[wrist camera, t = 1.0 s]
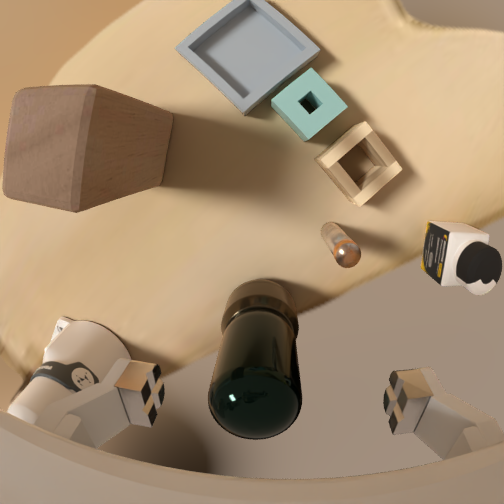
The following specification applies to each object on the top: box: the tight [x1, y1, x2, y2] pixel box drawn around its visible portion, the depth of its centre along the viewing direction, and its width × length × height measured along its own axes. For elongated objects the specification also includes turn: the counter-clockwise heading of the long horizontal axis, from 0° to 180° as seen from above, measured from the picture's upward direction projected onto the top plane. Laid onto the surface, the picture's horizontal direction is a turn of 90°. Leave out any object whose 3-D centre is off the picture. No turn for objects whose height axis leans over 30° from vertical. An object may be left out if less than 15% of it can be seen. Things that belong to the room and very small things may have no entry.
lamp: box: [208, 279, 302, 440], centre depth 33 cm, size 10×10×22 cm
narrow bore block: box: [271, 68, 348, 141], centre depth 33 cm, size 6×6×5 cm
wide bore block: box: [315, 121, 402, 207], centre depth 35 cm, size 7×7×5 cm
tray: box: [175, 0, 321, 116], centre depth 32 cm, size 12×12×3 cm
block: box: [3, 85, 173, 213], centre depth 29 cm, size 10×10×20 cm
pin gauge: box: [321, 222, 361, 268], centre depth 35 cm, size 3×3×10 cm
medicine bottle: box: [421, 221, 502, 295], centre depth 34 cm, size 7×7×12 cm
